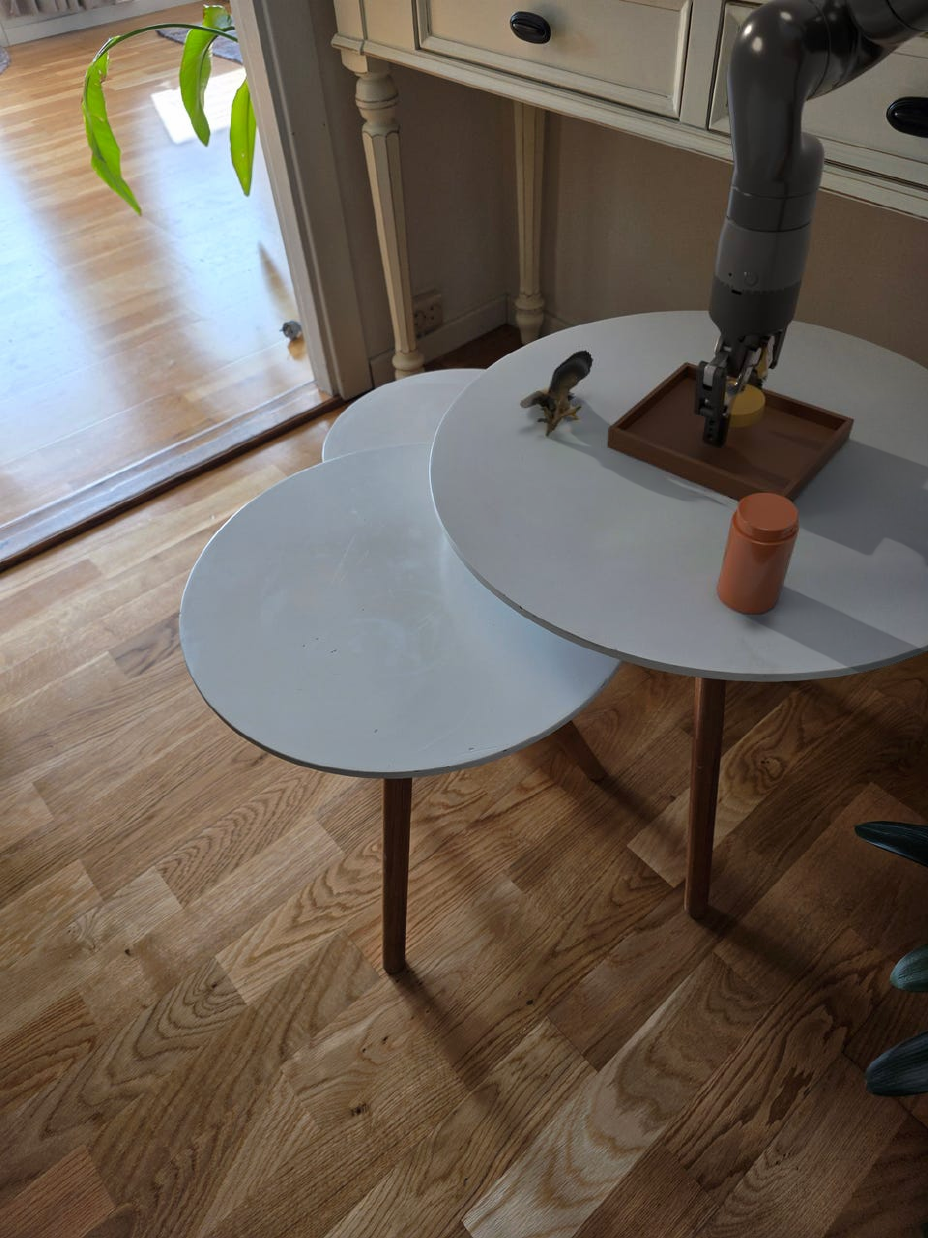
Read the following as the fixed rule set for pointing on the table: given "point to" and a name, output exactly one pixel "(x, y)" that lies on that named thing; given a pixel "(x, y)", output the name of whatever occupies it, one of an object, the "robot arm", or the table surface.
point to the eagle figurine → (560, 390)
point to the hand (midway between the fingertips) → (729, 427)
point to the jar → (758, 552)
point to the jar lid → (747, 407)
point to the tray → (731, 440)
